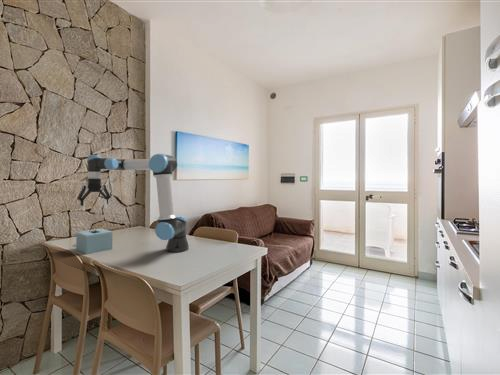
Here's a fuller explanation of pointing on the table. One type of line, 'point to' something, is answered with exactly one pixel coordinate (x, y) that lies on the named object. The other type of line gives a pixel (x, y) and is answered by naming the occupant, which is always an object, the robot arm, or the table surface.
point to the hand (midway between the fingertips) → (94, 209)
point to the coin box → (93, 240)
